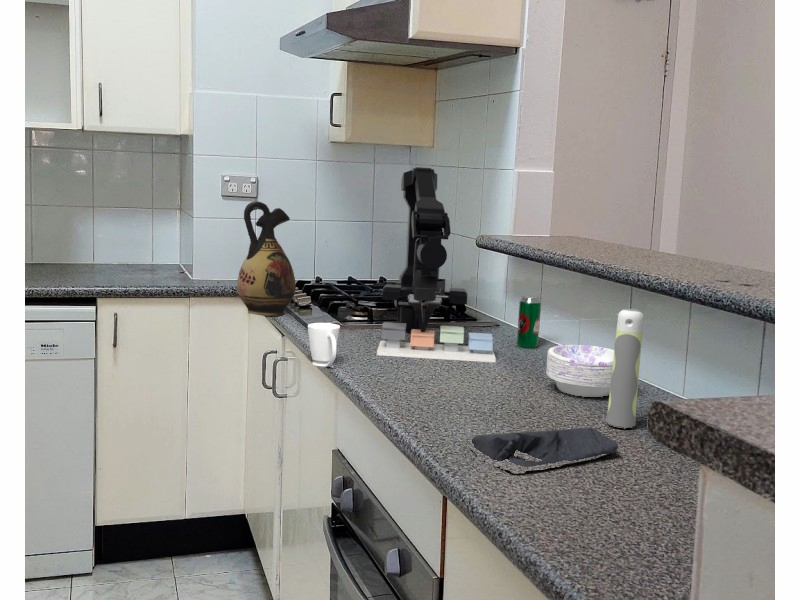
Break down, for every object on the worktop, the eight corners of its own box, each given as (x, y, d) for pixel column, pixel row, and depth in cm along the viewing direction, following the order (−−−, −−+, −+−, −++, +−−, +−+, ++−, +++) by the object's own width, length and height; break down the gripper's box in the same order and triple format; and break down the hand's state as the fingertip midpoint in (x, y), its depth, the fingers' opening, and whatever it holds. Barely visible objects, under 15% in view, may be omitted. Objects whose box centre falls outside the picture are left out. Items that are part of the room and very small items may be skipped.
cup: (332, 359, 186) (333, 322, 185) (349, 370, 177) (351, 331, 176) (300, 361, 183) (302, 323, 182) (317, 372, 174) (318, 332, 173)
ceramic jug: (284, 308, 246) (287, 200, 241) (302, 318, 232) (306, 204, 227) (224, 309, 238) (226, 199, 234) (239, 319, 224) (242, 202, 220)
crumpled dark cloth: (633, 465, 130) (636, 434, 129) (505, 480, 121) (508, 447, 120) (572, 434, 144) (575, 406, 143) (454, 445, 134) (456, 415, 134)
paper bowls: (576, 405, 160) (579, 363, 158) (529, 384, 173) (532, 345, 172) (641, 399, 166) (645, 359, 165) (591, 380, 180) (595, 342, 178)
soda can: (537, 349, 207) (541, 299, 205) (515, 347, 208) (519, 298, 206) (538, 345, 212) (541, 296, 210) (517, 343, 213) (520, 295, 211)
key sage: (439, 342, 194) (440, 329, 194) (439, 337, 199) (440, 325, 199) (463, 343, 194) (464, 331, 194) (462, 338, 199) (463, 326, 199)
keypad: (376, 355, 192) (377, 338, 191) (380, 344, 204) (381, 328, 203) (495, 362, 191) (496, 345, 190) (492, 350, 203) (493, 334, 202)
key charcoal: (381, 338, 195) (382, 326, 194) (382, 334, 200) (383, 322, 200) (404, 339, 195) (405, 327, 194) (405, 335, 200) (406, 323, 199)
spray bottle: (603, 427, 146) (614, 310, 143) (607, 420, 151) (618, 306, 148) (633, 432, 145) (645, 313, 142) (636, 424, 149) (647, 309, 146)
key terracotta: (410, 345, 195) (410, 333, 194) (411, 341, 200) (411, 329, 199) (433, 347, 195) (434, 334, 194) (433, 342, 200) (434, 330, 199)
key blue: (468, 349, 194) (469, 336, 194) (467, 344, 199) (468, 332, 199) (492, 350, 194) (493, 338, 194) (490, 345, 199) (491, 333, 199)
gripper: (382, 265, 187) (379, 336, 189) (470, 270, 186) (465, 341, 189) (385, 259, 198) (382, 327, 200) (468, 264, 197) (463, 332, 200)
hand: (422, 332), depth 197 cm, fingers closed, pressing on key terracotta
